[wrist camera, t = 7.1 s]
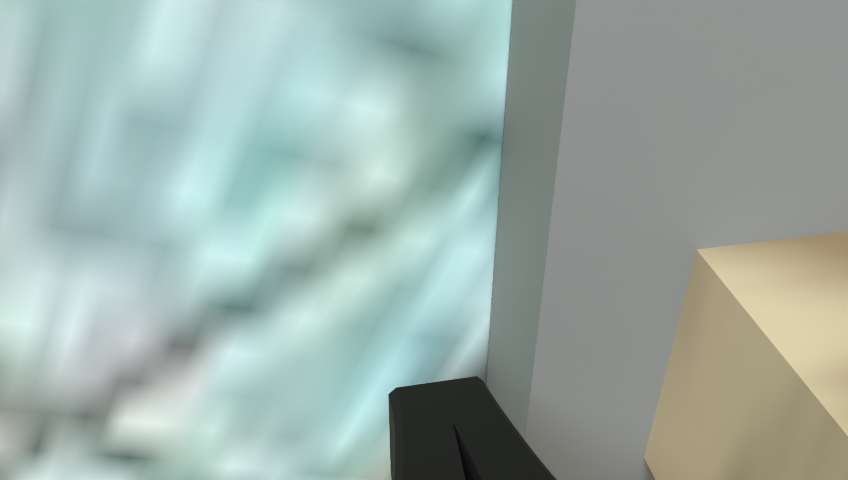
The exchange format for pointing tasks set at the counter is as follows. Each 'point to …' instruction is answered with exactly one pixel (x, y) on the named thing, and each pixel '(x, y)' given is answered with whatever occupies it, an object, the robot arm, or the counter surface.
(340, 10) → the counter surface
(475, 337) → the counter surface
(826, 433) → the maple block
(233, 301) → the counter surface
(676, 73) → the grey shallow tray piece
